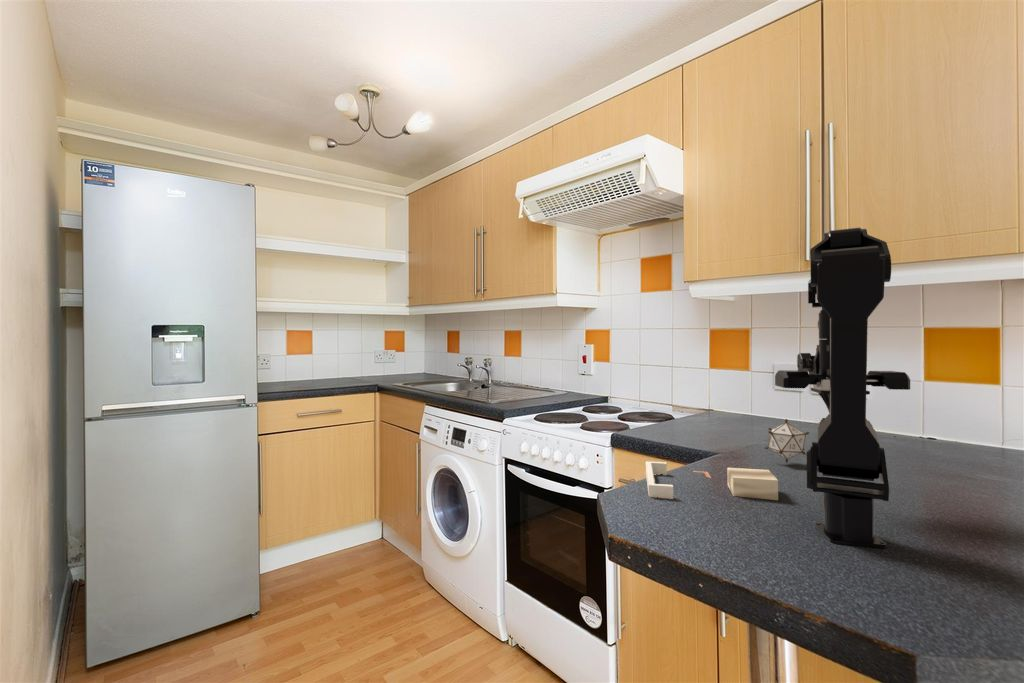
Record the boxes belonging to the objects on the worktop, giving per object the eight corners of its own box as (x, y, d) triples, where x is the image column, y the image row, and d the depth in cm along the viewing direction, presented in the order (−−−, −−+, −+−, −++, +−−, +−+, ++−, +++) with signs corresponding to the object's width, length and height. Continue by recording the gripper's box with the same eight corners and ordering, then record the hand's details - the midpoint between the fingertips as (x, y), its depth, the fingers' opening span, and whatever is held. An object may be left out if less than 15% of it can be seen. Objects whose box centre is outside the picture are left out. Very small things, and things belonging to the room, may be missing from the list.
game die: (764, 465, 107) (763, 419, 107) (764, 457, 115) (764, 414, 115) (811, 469, 103) (811, 422, 103) (808, 461, 111) (808, 417, 111)
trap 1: (711, 480, 96) (711, 478, 96) (669, 478, 98) (669, 476, 98) (707, 473, 101) (707, 471, 101) (667, 471, 103) (667, 469, 103)
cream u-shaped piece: (673, 504, 82) (673, 486, 82) (648, 502, 83) (648, 485, 83) (666, 477, 99) (666, 462, 99) (645, 476, 99) (645, 461, 99)
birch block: (778, 503, 83) (777, 480, 83) (733, 500, 85) (733, 477, 85) (769, 491, 89) (768, 469, 89) (727, 488, 91) (727, 467, 91)
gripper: (877, 339, 89) (878, 424, 89) (766, 340, 94) (767, 421, 94) (911, 338, 78) (912, 435, 78) (784, 339, 83) (785, 431, 83)
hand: (839, 429), depth 84 cm, fingers closed
